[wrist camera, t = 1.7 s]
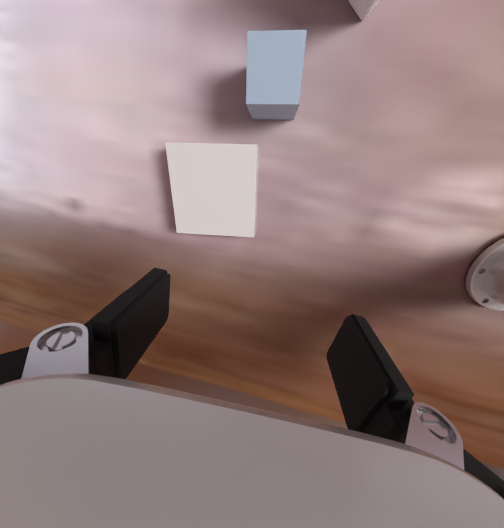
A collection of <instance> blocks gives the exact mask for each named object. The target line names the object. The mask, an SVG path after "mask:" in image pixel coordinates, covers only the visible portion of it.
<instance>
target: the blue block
mask: <svg viewBox="0 0 504 528" xmlns="http://www.w3.org/2000/svg"><path fill="white" fill-rule="evenodd" d="M306 34H307V30H271V31H247V72H246V105H247V108H248V110H249V112H250V115H251V117H252V119H275V120H294V117H295V114H296V112H297V109H298V106H299V101H300V91H301V82H302V72H303V62H304V53H305V43H306Z"/></svg>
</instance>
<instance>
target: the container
mask: <svg viewBox="0 0 504 528" xmlns="http://www.w3.org/2000/svg"><path fill="white" fill-rule="evenodd" d="M348 1H349V3H350V4H351V6H352V7H353V9H354V10H355V12H356V13H357V15H358V16H359V18H360V19H361V20H364V19H365V18H366V17H367V16H368V15H369V14H370V12H371V11H372V10H373V9H374V8H375V6H376V5H377V4H378V3H379V1H380V0H348Z"/></svg>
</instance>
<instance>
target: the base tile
mask: <svg viewBox="0 0 504 528" xmlns="http://www.w3.org/2000/svg"><path fill="white" fill-rule="evenodd" d="M165 146H166V153H167V161H168V169H169V176H170V184H171V192H172V200H173V207H174V215H175V223H176V230H177V233H189V234H206V235H223V236H240V237H254V236H255V233H256V218H257V193H258V168H259V146H258V145H252V144H208V143H165Z"/></svg>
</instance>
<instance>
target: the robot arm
mask: <svg viewBox="0 0 504 528" xmlns="http://www.w3.org/2000/svg"><path fill="white" fill-rule="evenodd" d="M466 289H467V292H468V294H469V296H470V297H471V298H472V299H473V300H474V301H476V302H477V303H479V304H480V305H482V306H484V307H486V308H489V309H493V310H501V311H504V238H502V239H500V240H498V241H497V242H495V243H494V244H492V245H491V246H489V247H488V248H487V249H486V250H485V251H483V252H482V253H481V254H480V255H479V256H478V257H477V259H476V260H475V261H474V262H473V264H472V266H471V267H470V269H469V271H468V274H467V277H466ZM169 293H170V274H167V271H166V270H162V269H158V268H154V269H152V270H151V271H150V272H149V273H148V274H146V275H145V276H144V277H143V278H141V279H140V280H139V281H138V282H137V283H135V284H134V285H133V286H132V287H131V288H129V289H128V290H126V291H125V292H124V293H122V294H121V295H120V296H119V297H117V298H116V299H115V300H114V301H113V302H111V303H110V304H109V305H108V306H106V307H105V308H104V309H103V310H101V311H100V312H99V313H98V314H97V315H95V316H94V317H93V318H92V319H90V320H89V321H88V322H87V323H86V324H84V325H82V324H79V323H64V324H59V325H56V326H53V327H51V328H48V329H46V330H44V331H43V332H41V333H39V334H38V335H37V336H36V337H35V338H34V339H33V340H32V342H31V344H30V347H26V348H23V349H19V350H15V351H11V352H8V353H4V354H1V355H0V528H504V481H503V480H502V479H500V478H499V477H498V476H497V475H495V474H494V473H493V472H492V471H490V470H489V469H488V468H487V467H486V466H484V465H483V464H482V463H481V462H479V461H478V460H477V459H476V458H474V457H473V456H472V455H471V454H469V453H468V452H467V451H466V450H464V449H463V442H462V439H461V436H460V434H459V432H458V431H457V429H456V428H455V427H454V425H453V424H452V423H451V422H450V421H449V420H448V419H447V418H446V417H445V416H444V415H443V414H442V413H441V412H439V411H438V410H437V409H435V408H434V407H432V406H430V405H428V404H426V403H422V402H416V403H414V402H413V400H412V397H413V396H414V393H413V392H412V390H411V389H410V387H409V386H408V384H407V382H406V381H405V379H404V378H403V376H402V375H401V373H400V372H399V370H398V368H397V367H396V365H395V364H394V362H393V361H392V359H391V358H390V356H389V354H388V353H387V351H386V350H385V348H384V347H383V345H382V344H381V342H380V341H379V339H378V337H377V336H376V334H375V333H374V331H373V330H372V328H371V327H370V325H369V323H368V322H367V320H366V319H365V318H364V317H362V316H358V315H353V314H352V315H350V316H347V317H346V318H345V320H344V322H343V324H342V326H341V328H340V330H339V331H338V333H337V335H336V337H335V339H334V341H333V343H332V344H331V346H330V348H329V350H328V352H327V361H328V364H329V368H330V371H331V374H332V378H333V381H334V384H335V388H336V391H337V394H338V398H339V401H340V404H341V408H342V411H343V414H344V418H345V421H346V424H347V427H348V429H345V428H340V427H336V426H332V425H328V424H323V423H319V422H315V421H310V420H306V419H302V418H297V417H293V416H289V415H284V414H280V413H275V412H271V411H267V410H262V409H258V408H254V407H249V406H245V405H240V404H236V403H232V402H227V401H223V400H218V399H214V398H209V397H205V396H200V395H196V394H191V393H187V392H182V391H177V390H173V389H169V388H164V387H160V386H155V385H150V384H145V383H140V382H134V381H130V380H125V379H126V378H127V377H128V375H129V374H130V372H131V371H132V369H133V368H134V367H135V365H136V364H137V362H138V361H139V359H140V358H141V357H142V355H143V354H144V352H145V351H146V349H147V348H148V347H149V345H150V344H151V342H152V341H153V339H154V338H155V337H156V335H157V334H158V332H159V331H160V329H161V328H162V327H163V325H164V324H165V322H166V321H167V318H168V313H169Z"/></svg>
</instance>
